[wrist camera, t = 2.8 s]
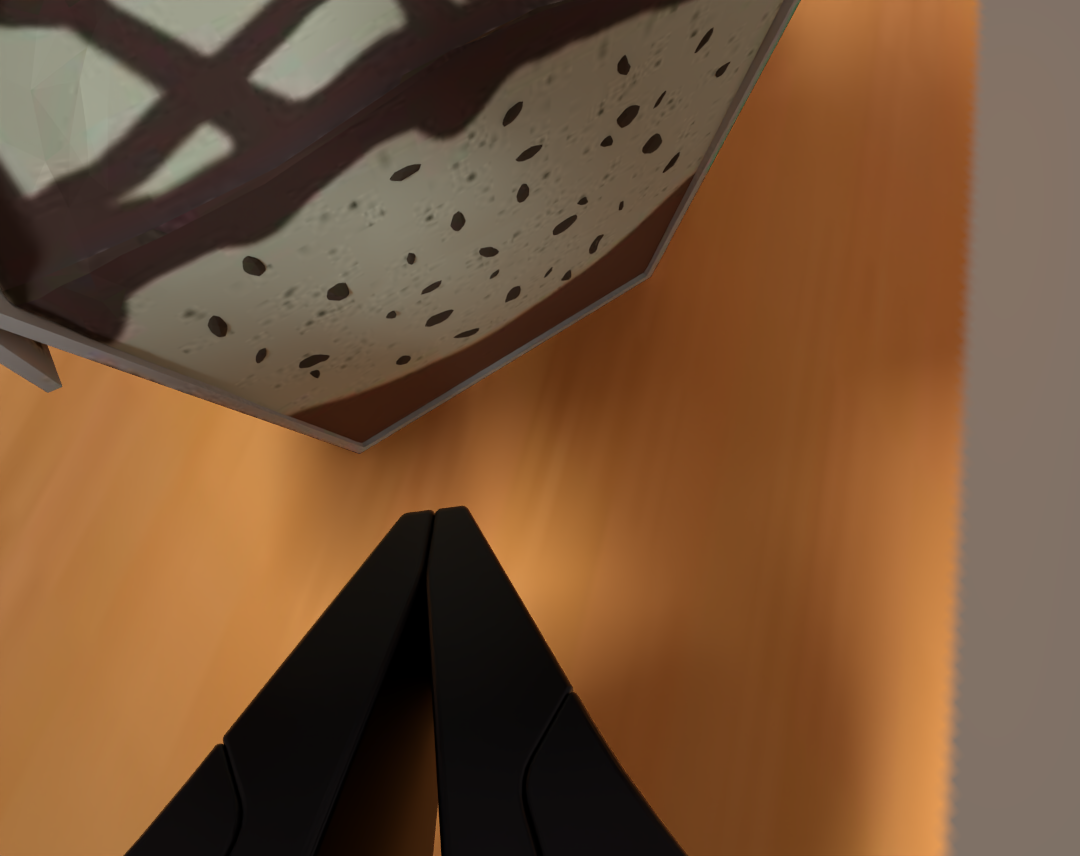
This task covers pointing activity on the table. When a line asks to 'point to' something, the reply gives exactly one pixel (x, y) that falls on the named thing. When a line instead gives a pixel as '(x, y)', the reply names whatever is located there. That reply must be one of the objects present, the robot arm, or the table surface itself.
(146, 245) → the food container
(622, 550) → the table surface
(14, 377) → the table surface
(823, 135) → the table surface
